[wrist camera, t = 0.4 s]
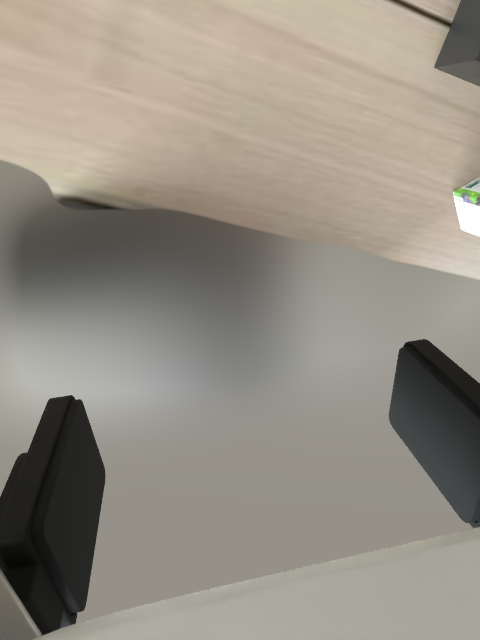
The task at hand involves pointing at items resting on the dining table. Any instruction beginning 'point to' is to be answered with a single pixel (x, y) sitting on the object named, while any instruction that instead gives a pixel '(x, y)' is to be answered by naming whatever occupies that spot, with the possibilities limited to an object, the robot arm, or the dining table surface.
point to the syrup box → (469, 206)
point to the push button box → (463, 44)
